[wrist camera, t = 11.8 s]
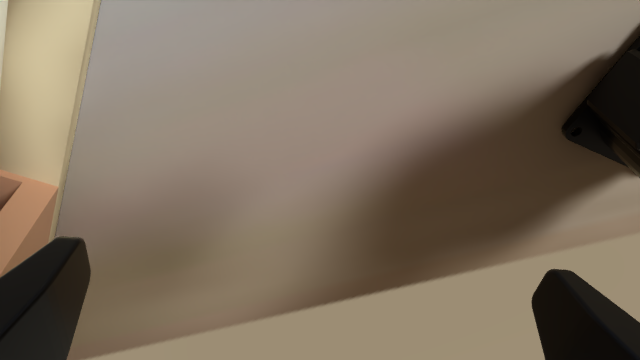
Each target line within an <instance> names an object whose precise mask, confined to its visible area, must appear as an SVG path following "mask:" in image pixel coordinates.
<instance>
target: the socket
mask: <svg viewBox="0 0 640 360" xmlns="http://www.w3.org/2000/svg"><path fill="white" fill-rule="evenodd" d="M58 188H59V187H57V186H54V185H51V184H47V183H44V182H41V181H37V180H34V179H30V178H27V177H24V176H20V175H17V174H13V173H10V172H7V171H3V170H0V277H1V276H3V275H4V274H6V273H7V272H8V271H10V270H11V269H13V268H14V267H15V266H17V265H18V264H20V263H21V262H23V261H24V260H25V259H27V258H28V257H30V256H31V255H32V254H34V253H35V252H37V251H38V250H39V249H41V248H42V247H44V246H45V245H46V244H48V241H49V236H50V230H51V225H52V220H53V214H54V209H55V204H56V198H57V193H58Z"/></svg>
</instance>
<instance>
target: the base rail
mask: <svg viewBox="0 0 640 360" xmlns="http://www.w3.org/2000/svg"><path fill="white" fill-rule="evenodd" d="M100 3H101V0H8V8H7V19H6V31H5V42H4V54H3V65H2V76H1V88H0V170H3V171H7V172H10V173H13V174H17V175H20V176H24V177H27V178H30V179H34V180H37V181H41V182H44V183H47V184H51V185H54V186H57V187H59V188H58V193H57V198H56V204H55V209H54V214H53V220H52V225H51V230H50V236H49V241H48V243H49V242H51V241H52V240H53V239H54V237H55V232H56V227H57V222H58V217H59V212H60V207H61V202H62V197H63V192H64V186H65V181H66V176H67V171H68V166H69V161H70V156H71V151H72V146H73V141H74V135H75V130H76V125H77V120H78V115H79V110H80V105H81V100H82V95H83V89H84V84H85V79H86V74H87V69H88V64H89V59H90V54H91V49H92V44H93V38H94V33H95V28H96V23H97V18H98V13H99V8H100Z"/></svg>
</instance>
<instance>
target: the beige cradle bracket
mask: <svg viewBox="0 0 640 360" xmlns="http://www.w3.org/2000/svg"><path fill="white" fill-rule="evenodd" d="M7 8H8V0H0V88H1V76H2V65H3V54H4V42H5V31H6V19H7Z"/></svg>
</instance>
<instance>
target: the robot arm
mask: <svg viewBox="0 0 640 360" xmlns="http://www.w3.org/2000/svg"><path fill="white" fill-rule="evenodd" d="M576 127H578V128H577V129H576V130H575V131H574V132H571V131H572V130H573V129H574V128H576ZM562 134H563V135H564V136H565V137H566V138H567V139H568V140H570V141H572V142H574V143H576V144H578V145H581V146H583V147H585V148H587V149H590V150H592V151H594V152H596V153H598V154H601V155H603V156H605V157H607V158H609V159H612V160H614V161H616V162H618V163H621V164H623V165H625V166H627V167H629V168H630V169H631V170H632V171H633V172H634V173H635V174H636V175H637V176H638V177H639V178H640V36H639V38H638V39H637V40H636V41H635V42H634V43H633V45H632V46H631V47H630V48H629V49H628V50H627V52H626V53H625V54H624V55H623V56H622V57H621V59H620V60H619V61H618V62H617V63H616V64H615V66H614V67H613V68H612V69H611V70H610V71H609V73H608V74H607V75H606V76H605V77H604V78H603V80H602V81H601V82H600V83H599V84H598V85H597V87H596V88H595V89H594V90H593V91H592V92H591V94H590V95H589V96H588V97H587V98H586V99H585V101H584V102H583V103H582V104H581V105H580V106H579V107H578V109H577V110H576V111H575V112H574V113H573V114H572V116H571V117H570V118H569V119H568V120H567V121H566V123H565V124H564V125H563V127H562ZM90 274H91V270H90V264H89V260H88V255H87V250H86V245H85V242H84V240H83V239H82V238H79V237H63V236H61V237H57V238H55V239H54V240H52V241H51V242H49V243H48V244H46V245H45V246H44V247H42V248H41V249H39V250H38V251H37V252H35V253H34V254H32V255H31V256H30V257H28V258H27V259H25V260H24V261H23V262H21V263H20V264H18V265H17V266H15V267H14V268H13V269H11V270H10V271H8V272H7V273H6V274H4V275H3V276H1V277H0V360H66V359H67V356H68V353H69V350H70V347H71V343H72V340H73V336H74V333H75V329H76V326H77V323H78V319H79V316H80V312H81V309H82V305H83V302H84V299H85V295H86V292H87V288H88V285H89V281H90ZM532 309H533V313H534V317H535V321H536V324H537V329H538V333H539V336H540V340H541V344H542V348H543V352H544V356H545V360H640V323H639V322H638V321H637V320H635V319H634V318H633V317H632V316H630V315H629V314H628V313H626V312H625V311H624V310H622V309H621V308H620V307H618V306H617V305H616V304H614V303H613V302H612V301H610V300H609V299H608V298H607V297H605V296H604V295H602V294H601V293H600V292H599V291H597V290H596V289H595V288H593V287H592V286H591V285H589V284H588V283H587V282H586V281H584V280H583V279H582V278H580V277H579V276H578V275H576V274H575V273H574V272H572V271H568V270H559V269H551V270H549V271H548V272H547V273H546V274H545V276H544V277H543V279H542V281H541V282H540V284H539V286H538V287H537V289H536V291H535V292H534V294H533V297H532Z"/></svg>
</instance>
